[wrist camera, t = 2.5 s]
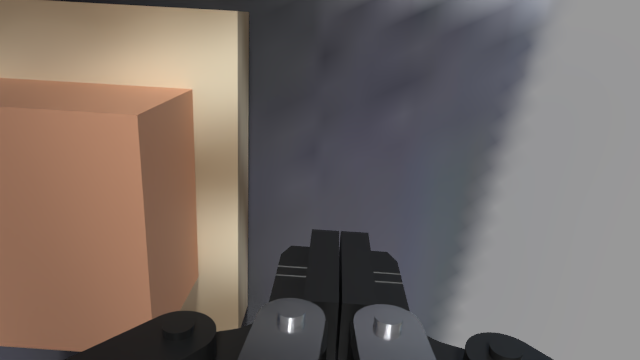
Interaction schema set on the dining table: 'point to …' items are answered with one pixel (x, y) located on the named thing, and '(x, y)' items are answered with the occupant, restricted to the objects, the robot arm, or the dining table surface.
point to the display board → (170, 72)
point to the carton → (93, 210)
